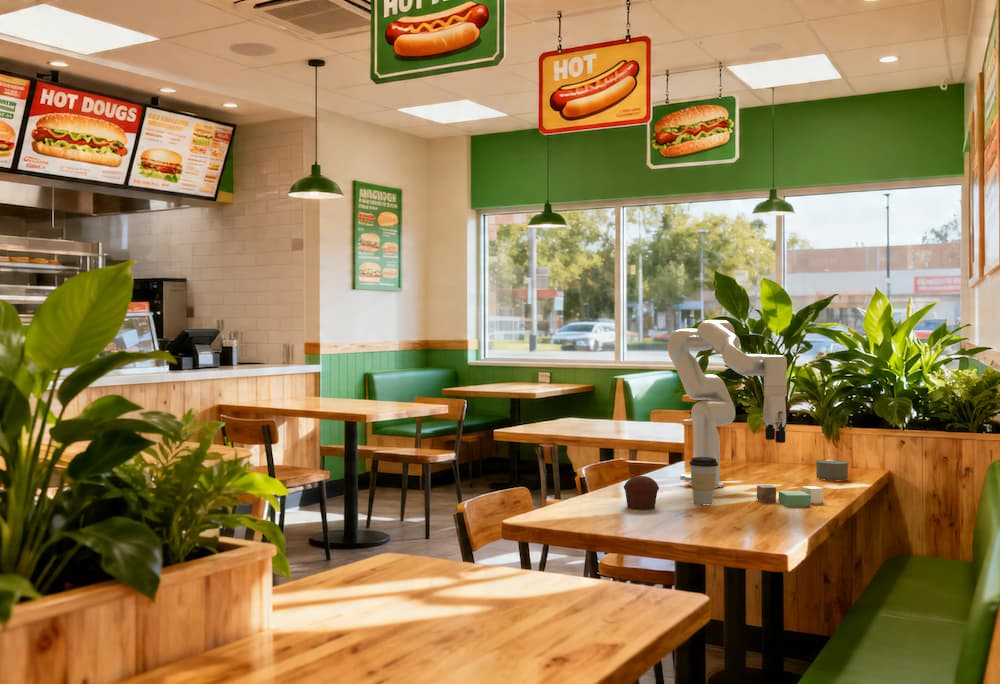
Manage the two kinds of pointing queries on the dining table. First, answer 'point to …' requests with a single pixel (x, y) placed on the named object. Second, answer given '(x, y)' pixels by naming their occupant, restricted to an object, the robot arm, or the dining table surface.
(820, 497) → the cream cube
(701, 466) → the coffee cup
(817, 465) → the can
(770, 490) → the walnut cube
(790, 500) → the green base
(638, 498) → the muffin
